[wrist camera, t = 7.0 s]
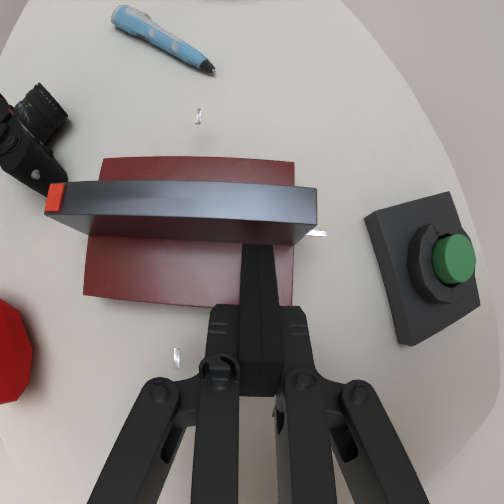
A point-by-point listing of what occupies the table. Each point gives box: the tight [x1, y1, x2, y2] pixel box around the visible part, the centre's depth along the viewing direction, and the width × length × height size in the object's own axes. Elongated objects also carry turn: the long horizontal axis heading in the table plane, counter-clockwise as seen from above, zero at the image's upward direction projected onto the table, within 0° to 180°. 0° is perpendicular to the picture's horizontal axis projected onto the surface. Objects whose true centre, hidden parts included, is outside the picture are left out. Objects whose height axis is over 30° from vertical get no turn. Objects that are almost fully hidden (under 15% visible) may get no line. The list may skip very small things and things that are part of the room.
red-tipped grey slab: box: [44, 180, 317, 246], centre depth 15 cm, size 14×2×6 cm, turn 87°
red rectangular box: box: [83, 109, 326, 370], centre depth 20 cm, size 18×18×4 cm
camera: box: [0, 83, 68, 197], centre depth 18 cm, size 14×7×8 cm, turn 49°
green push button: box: [432, 234, 475, 284], centre depth 18 cm, size 4×4×2 cm
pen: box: [111, 5, 215, 72], centre depth 23 cm, size 19×3×3 cm, turn 46°
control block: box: [364, 191, 480, 346], centre depth 20 cm, size 11×9×4 cm
